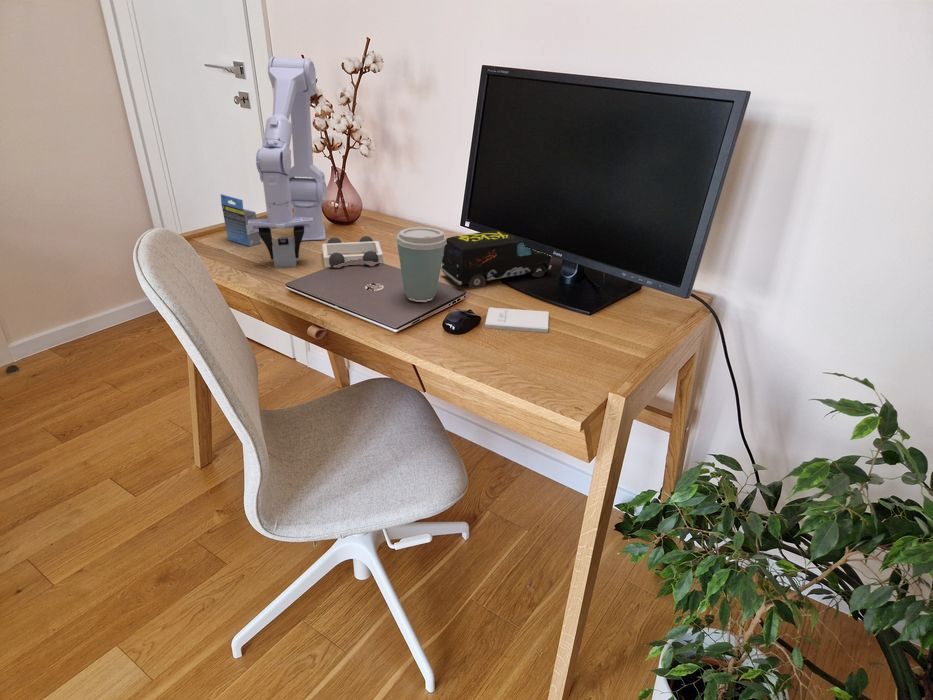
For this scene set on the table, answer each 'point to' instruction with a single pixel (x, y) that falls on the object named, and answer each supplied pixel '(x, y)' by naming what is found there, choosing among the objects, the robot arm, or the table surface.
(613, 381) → the table surface
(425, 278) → the disposable coffee cup
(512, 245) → the toy van
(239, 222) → the label tape box
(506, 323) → the external hard drive
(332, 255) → the chassis
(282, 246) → the engine block
